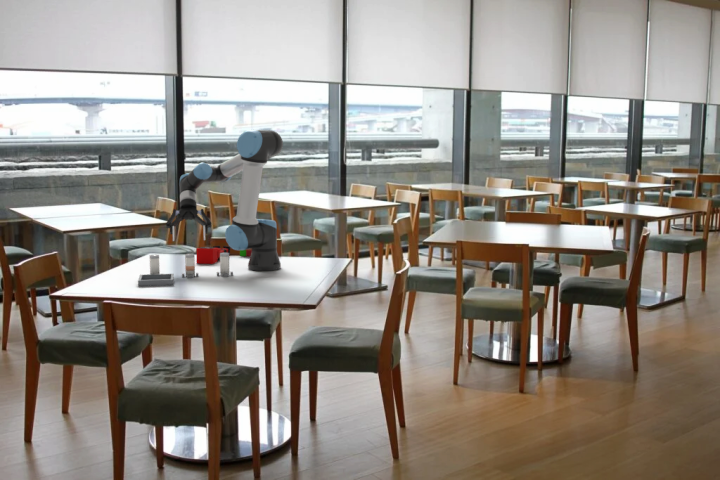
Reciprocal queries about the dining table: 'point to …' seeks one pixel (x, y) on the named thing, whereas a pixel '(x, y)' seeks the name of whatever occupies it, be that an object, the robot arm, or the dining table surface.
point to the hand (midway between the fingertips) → (189, 239)
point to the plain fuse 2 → (224, 263)
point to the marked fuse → (190, 264)
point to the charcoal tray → (156, 280)
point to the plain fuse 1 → (154, 264)
